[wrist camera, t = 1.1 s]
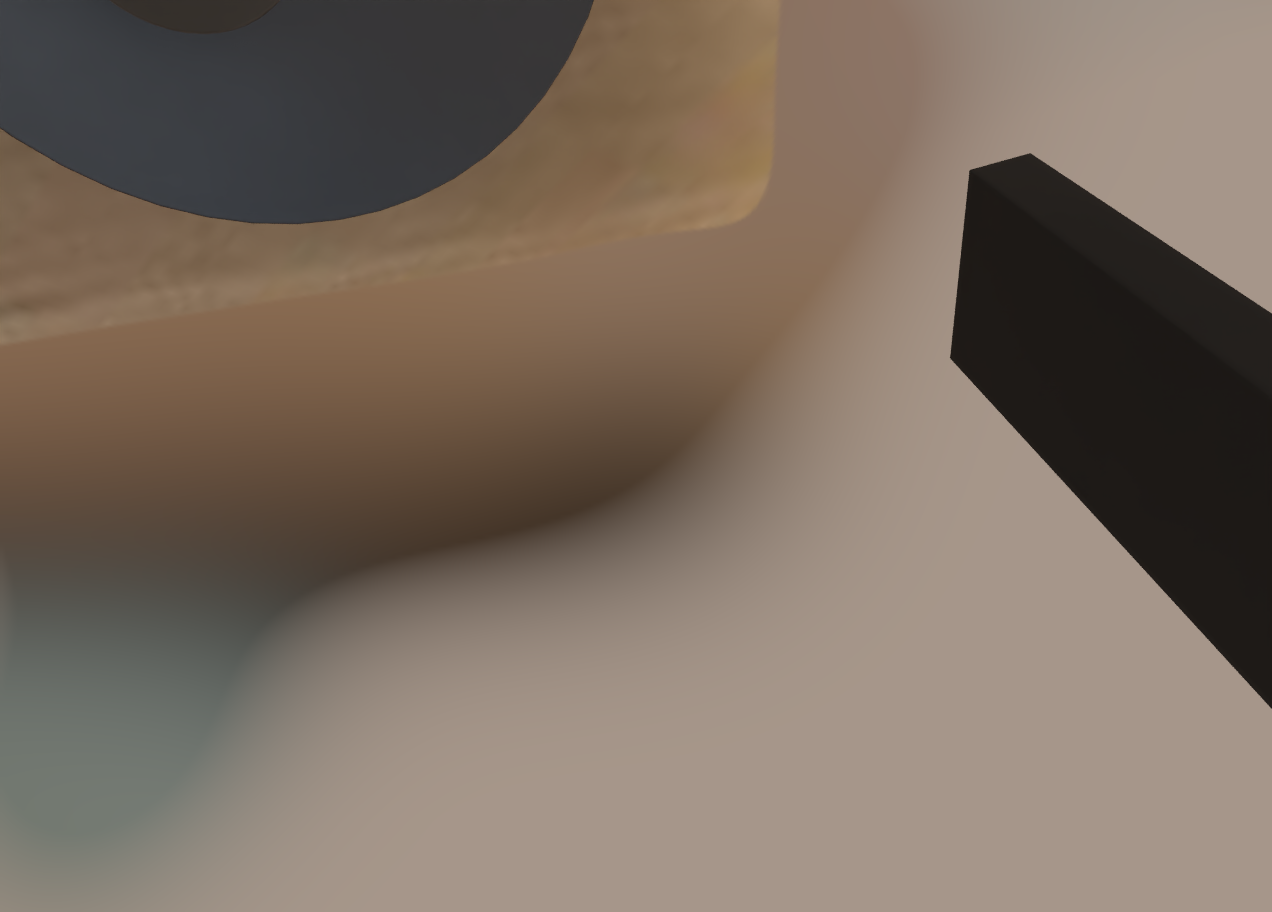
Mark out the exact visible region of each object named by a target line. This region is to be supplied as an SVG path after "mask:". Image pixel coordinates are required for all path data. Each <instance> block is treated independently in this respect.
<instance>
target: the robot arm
mask: <svg viewBox="0 0 1272 912" xmlns="http://www.w3.org/2000/svg"><path fill="white" fill-rule="evenodd" d="M950 358H951V360H952V361H953V362H954V363H955V364H956V365H957V366H958V367H959V368H960V369H961V371H962V372H963V373H964V374H965V375H966V376H967V377H968V378H969V379H970V380H971V381H972V382H973V384H974V385H975V386H976V387H977V388H978V389H979V390H980V391H981V392H982V393H983V395H985V397H986V398H987V399H988V400H989V401H990V402H991V403H992V404H993V405H994V407H995V408H996V409H997V410H998V411H999V412H1000V413H1001V414H1002V415H1003V416H1004V417H1005V419H1006V420H1007V421H1008V422H1009V423H1010V424H1011V425H1012V426H1013V427H1014V428H1015V429H1016V431H1017V432H1018V433H1019V434H1020V435H1021V436H1022V437H1023V438H1024V439H1025V440H1026V441H1027V442H1028V443H1029V445H1030V446H1031V447H1032V448H1033V449H1034V450H1035V451H1036V452H1037V453H1038V454H1039V456H1040V457H1041V458H1042V459H1043V460H1044V461H1045V462H1046V463H1047V464H1048V465H1049V466H1050V467H1051V468H1052V470H1053V471H1054V472H1055V473H1056V474H1057V475H1058V476H1059V477H1060V478H1061V480H1063V482H1064V483H1065V484H1066V485H1067V486H1068V487H1069V488H1070V489H1071V490H1072V492H1074V494H1075V495H1076V496H1077V497H1078V498H1079V499H1080V500H1081V501H1082V502H1083V504H1084V505H1085V506H1086V507H1087V508H1088V509H1089V510H1090V511H1091V512H1092V513H1093V514H1094V516H1096V518H1097V519H1098V520H1099V521H1100V522H1101V523H1102V524H1103V525H1104V526H1105V527H1106V528H1107V530H1108V531H1109V532H1110V533H1111V534H1112V535H1113V536H1114V537H1115V538H1116V539H1117V541H1118V542H1119V543H1120V544H1121V545H1122V546H1123V547H1124V548H1125V549H1126V550H1127V552H1128V553H1129V554H1130V555H1131V556H1132V557H1133V558H1134V559H1135V560H1136V561H1137V562H1138V563H1139V565H1140V566H1142V568H1143V569H1144V570H1145V571H1146V572H1147V573H1148V574H1149V575H1150V577H1152V579H1153V580H1154V581H1155V582H1156V583H1157V584H1158V585H1159V586H1160V587H1161V589H1162V590H1163V591H1164V592H1165V593H1166V594H1167V595H1168V596H1169V597H1170V598H1171V599H1172V601H1174V603H1175V604H1176V605H1177V606H1178V607H1179V608H1180V609H1181V610H1182V611H1183V613H1184V614H1185V615H1186V616H1187V617H1188V618H1189V619H1190V620H1191V621H1192V622H1193V623H1194V625H1195V626H1196V627H1197V628H1198V629H1199V630H1200V631H1201V632H1202V633H1203V634H1204V635H1205V636H1206V638H1207V639H1209V641H1210V642H1211V643H1212V644H1213V645H1214V646H1215V647H1216V649H1218V651H1219V652H1220V653H1221V654H1222V655H1223V656H1224V657H1225V658H1226V659H1227V660H1228V662H1229V663H1230V664H1231V665H1232V666H1233V667H1234V668H1235V669H1236V670H1237V671H1238V673H1239V674H1240V675H1241V676H1242V677H1243V678H1244V679H1245V680H1246V681H1247V682H1248V683H1249V684H1250V686H1251V687H1252V688H1253V689H1254V690H1255V691H1256V692H1257V693H1258V694H1259V695H1260V696H1261V697H1262V699H1263V700H1264V701H1265V702H1266V703H1267V704H1268V705H1269V706H1270V707H1271V708H1272V313H1270V312H1269V311H1267V310H1266V309H1264V308H1262V307H1261V306H1260V305H1258V304H1256V303H1255V302H1254V301H1252V300H1250V299H1249V298H1247V297H1246V296H1244V295H1243V294H1241V293H1240V292H1238V291H1237V290H1235V289H1234V288H1232V287H1231V286H1229V285H1228V284H1226V283H1225V282H1223V281H1222V280H1220V279H1219V278H1217V277H1216V276H1214V275H1213V274H1211V273H1210V272H1208V271H1207V270H1205V269H1204V268H1202V267H1201V266H1199V265H1198V264H1196V263H1195V262H1193V261H1192V260H1190V259H1189V258H1187V257H1186V256H1184V255H1183V254H1181V253H1180V252H1178V251H1177V250H1175V249H1173V248H1172V247H1170V246H1169V245H1167V244H1166V243H1165V242H1163V241H1162V240H1160V239H1159V238H1157V237H1156V236H1154V235H1153V234H1151V233H1150V232H1148V231H1147V230H1145V229H1143V228H1142V227H1141V226H1139V225H1137V224H1136V223H1135V222H1133V221H1131V220H1130V219H1128V218H1127V217H1125V216H1124V215H1122V214H1121V213H1119V212H1118V211H1116V210H1115V209H1113V208H1112V207H1110V206H1109V205H1107V204H1106V203H1104V202H1103V201H1101V200H1100V199H1098V198H1097V197H1095V196H1094V195H1092V194H1090V193H1089V192H1088V191H1086V190H1085V189H1083V188H1082V187H1080V186H1079V185H1077V184H1076V183H1074V182H1073V181H1071V180H1070V179H1068V178H1067V177H1065V176H1064V175H1062V174H1061V173H1059V172H1058V171H1056V170H1055V169H1053V168H1052V167H1050V166H1049V165H1047V164H1046V163H1044V162H1043V161H1041V160H1040V159H1038V158H1036V157H1035V156H1034V155H1032V154H1026V155H1023V156H1019V157H1016V158H1012V159H1008V160H1004V161H1001V162H997V163H994V164H990V165H987V166H983V167H979V168H976V169H972V170H970V171H969V181H968V192H967V201H966V210H965V220H964V230H963V239H962V249H961V259H960V268H959V278H958V288H957V297H956V307H955V316H954V327H953V336H952V346H951V355H950Z"/></svg>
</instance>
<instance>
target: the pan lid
mask: <svg viewBox="0 0 1272 912" xmlns="http://www.w3.org/2000/svg"><path fill="white" fill-rule="evenodd" d="M593 1H594V0H0V128H1V129H2V130H4V131H5V132H7V133H8V134H9V135H11V136H12V137H14V138H16V139H17V140H19V141H21V142H22V143H24V144H26V145H28V146H29V147H31V148H33V149H34V150H36V151H38V152H40V153H41V154H43V155H45V156H46V157H48V158H50V159H51V160H53V161H55V162H57V163H58V164H60V165H62V166H64V167H66V168H68V169H70V170H72V171H75V172H77V173H79V174H81V175H83V176H85V177H87V178H90V179H92V180H94V181H96V182H98V183H100V184H102V185H105V186H107V187H109V188H111V189H114V190H117V191H119V192H122V193H125V194H128V195H131V196H134V197H137V198H139V199H142V200H145V201H148V202H151V203H154V204H156V205H159V206H163V207H167V208H171V209H176V210H180V211H184V212H188V213H192V214H196V215H200V216H205V217H210V218H217V219H225V220H233V221H240V222H248V223H270V224H303V223H313V222H323V221H333V220H341V219H346V218H350V217H355V216H359V215H364V214H368V213H373V212H377V211H381V210H384V209H387V208H389V207H392V206H395V205H398V204H400V203H403V202H406V201H409V200H411V199H414V198H417V197H419V196H421V195H423V194H425V193H427V192H429V191H431V190H433V189H435V188H437V187H439V186H441V185H443V184H445V183H446V182H448V181H450V180H452V179H454V178H456V177H457V176H458V175H460V174H461V173H463V172H464V171H466V170H467V169H469V168H470V167H471V166H473V165H474V164H476V163H477V162H479V161H480V160H481V159H483V158H484V157H486V156H487V155H488V154H489V153H490V152H492V151H493V150H494V149H495V148H496V147H497V146H498V145H499V144H500V143H501V142H502V141H504V140H505V139H506V138H507V137H508V136H509V135H510V134H511V133H512V132H513V131H515V130H516V129H517V128H518V127H519V125H520V124H521V123H522V122H523V121H524V119H525V118H526V117H527V116H528V115H529V113H530V112H531V111H532V110H533V109H534V107H535V106H536V105H537V104H538V103H539V102H540V100H541V99H542V98H543V97H544V96H545V94H546V92H547V91H548V89H549V88H550V86H551V85H552V83H553V82H554V80H555V78H556V77H557V75H558V74H559V72H560V71H561V69H562V68H563V66H564V64H565V63H566V61H567V60H568V58H569V56H570V54H571V52H572V50H573V48H574V45H575V43H576V41H577V39H578V37H579V35H580V33H581V31H582V29H583V27H584V24H585V22H586V20H587V18H588V16H589V13H590V10H591V7H592V4H593Z"/></svg>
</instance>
